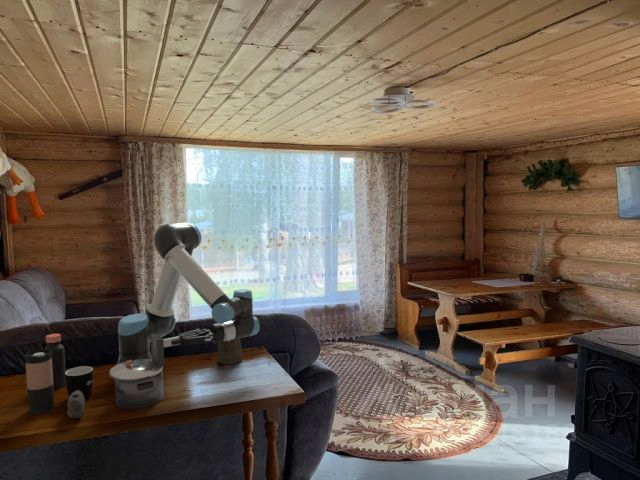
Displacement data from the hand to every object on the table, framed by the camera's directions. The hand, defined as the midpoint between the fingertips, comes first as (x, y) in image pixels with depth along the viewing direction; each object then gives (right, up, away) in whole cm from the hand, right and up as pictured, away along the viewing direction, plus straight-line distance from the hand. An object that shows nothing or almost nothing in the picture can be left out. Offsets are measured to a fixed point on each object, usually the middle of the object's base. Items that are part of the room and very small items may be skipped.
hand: (161, 343), depth 165 cm
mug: (-29, -19, 0) cm, 35 cm away
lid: (-7, -9, -4) cm, 12 cm away
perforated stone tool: (-24, -21, -13) cm, 34 cm away
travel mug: (-37, -20, -11) cm, 44 cm away
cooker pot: (-7, -19, -3) cm, 21 cm away
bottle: (-44, -19, +9) cm, 48 cm away
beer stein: (+18, -16, +37) cm, 44 cm away
